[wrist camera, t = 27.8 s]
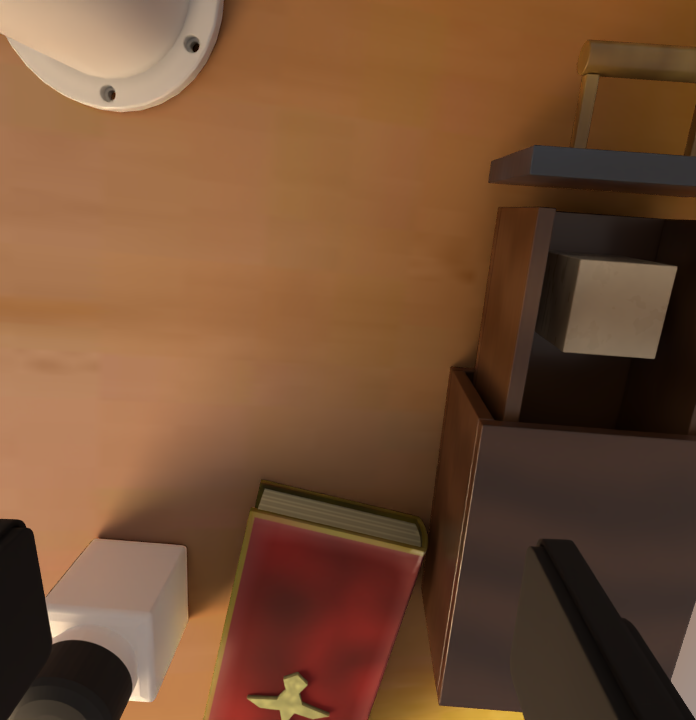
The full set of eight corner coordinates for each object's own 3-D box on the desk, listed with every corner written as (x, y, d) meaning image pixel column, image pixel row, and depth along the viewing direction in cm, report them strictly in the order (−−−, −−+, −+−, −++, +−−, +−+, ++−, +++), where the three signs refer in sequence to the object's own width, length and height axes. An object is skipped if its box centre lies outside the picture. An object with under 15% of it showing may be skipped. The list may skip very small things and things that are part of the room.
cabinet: (450, 366, 34) (482, 425, 25) (642, 380, 34) (745, 445, 25) (421, 588, 39) (438, 706, 30) (588, 601, 39) (657, 724, 30)
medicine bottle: (93, 535, 39) (-23, 675, 27) (188, 543, 38) (112, 686, 27) (99, 613, 41) (-6, 775, 29) (189, 621, 40) (120, 785, 29)
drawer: (504, 64, 28) (555, 13, 21) (714, 79, 28) (842, 32, 21) (454, 426, 34) (479, 487, 27) (626, 439, 34) (700, 504, 27)
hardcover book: (424, 518, 37) (431, 555, 33) (352, 729, 43) (351, 783, 39) (261, 479, 37) (248, 513, 33) (211, 699, 43) (195, 750, 39)
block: (541, 249, 30) (580, 259, 24) (621, 255, 30) (678, 266, 24) (528, 327, 31) (562, 352, 26) (604, 333, 31) (655, 359, 26)
